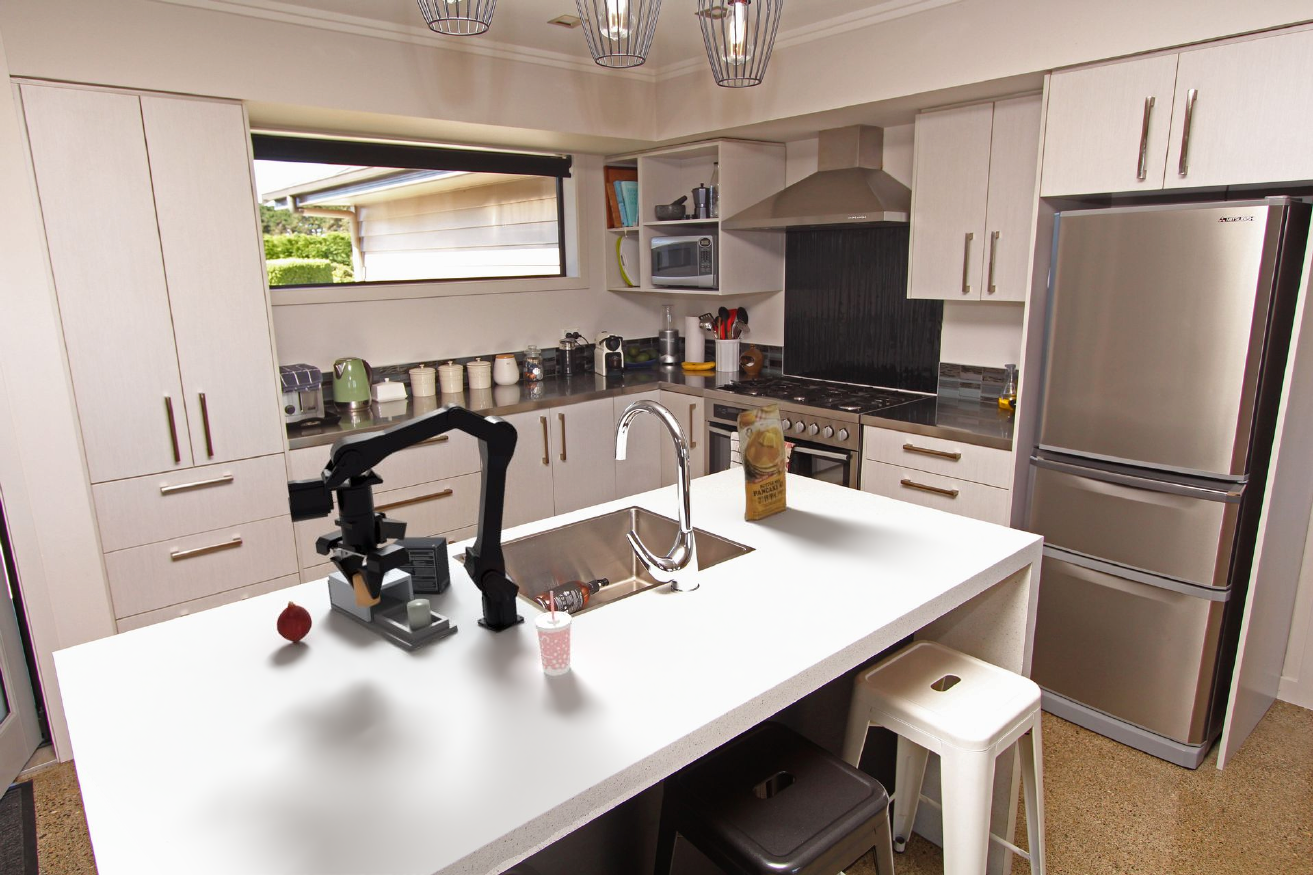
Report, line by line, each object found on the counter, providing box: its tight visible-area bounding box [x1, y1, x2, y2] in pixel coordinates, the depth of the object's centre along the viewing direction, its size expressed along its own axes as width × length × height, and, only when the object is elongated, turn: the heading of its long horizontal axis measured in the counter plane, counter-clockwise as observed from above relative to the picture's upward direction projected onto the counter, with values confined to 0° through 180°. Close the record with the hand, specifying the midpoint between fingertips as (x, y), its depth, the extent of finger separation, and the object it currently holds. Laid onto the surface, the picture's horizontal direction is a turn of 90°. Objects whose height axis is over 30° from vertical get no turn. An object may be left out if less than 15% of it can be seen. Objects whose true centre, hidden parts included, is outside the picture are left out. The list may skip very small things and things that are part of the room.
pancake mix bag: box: [736, 403, 787, 521], centre depth 204 cm, size 7×19×28 cm, turn 132°
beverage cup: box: [534, 590, 573, 676], centre depth 132 cm, size 6×6×14 cm
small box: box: [391, 536, 452, 595], centre depth 166 cm, size 11×6×10 cm, turn 84°
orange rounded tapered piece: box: [353, 572, 380, 607], centre depth 138 cm, size 4×4×5 cm
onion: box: [276, 600, 313, 643], centre depth 144 cm, size 6×6×8 cm
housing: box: [327, 579, 459, 652], centre depth 152 cm, size 28×10×6 cm, turn 50°
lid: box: [327, 561, 415, 622], centre depth 156 cm, size 14×10×8 cm
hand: (367, 595), depth 138 cm, fingers closed on orange rounded tapered piece, 4 cm apart
